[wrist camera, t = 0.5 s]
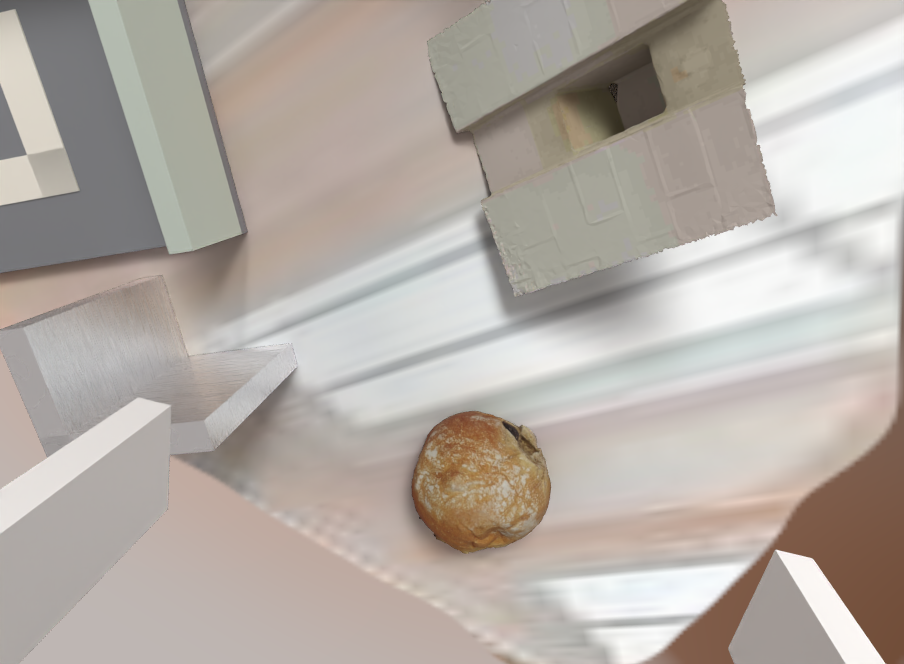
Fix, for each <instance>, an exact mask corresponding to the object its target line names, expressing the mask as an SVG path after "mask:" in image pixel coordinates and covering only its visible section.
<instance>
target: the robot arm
mask: <svg viewBox="0 0 904 664" xmlns="http://www.w3.org/2000/svg"><path fill="white" fill-rule="evenodd" d="M170 434H171V405H168V404H164V403H159V402H155V401H151V400H147V399H143V398H136V399H135V400H133V401H132V402H130V403H129V404H127V405H126V406H124V407H123V408H121V409H120V410H118V411H117V412H115V413H114V414H112V415H111V416H109V417H108V418H106V419H105V420H103V421H102V422H100V423H99V424H97V425H96V426H94V427H93V428H91V429H90V430H88V431H87V432H85V433H84V434H82V435H81V436H79V437H78V438H76V439H75V440H73V441H72V442H70V443H69V444H67V445H66V446H64V447H63V448H61V449H60V450H58V451H57V452H55V453H54V454H52V455H51V456H49V457H48V458H46V459H45V460H43V461H42V462H41V463H39V464H37V465H36V466H34V467H33V468H31V469H30V470H28V471H27V472H25V473H24V474H22V475H21V476H19V477H18V478H16V479H15V480H13V481H12V482H11V483H9V484H7V485H6V486H4V487H3V488H1V489H0V664H19V663H20V662H21V661H22V660H23V659H24V658H25V657H26V656H27V655H28V653H29V652H31V651H32V650H33V649H34V647H35V646H36V645H37V644H38V643H39V642H40V641H41V640H42V639H43V638H44V637H45V636H46V635H47V634H48V633H49V632H50V631H51V630H52V629H53V628H54V627H55V626H56V625H57V624H58V622H60V621H61V619H62V618H63V617H64V616H65V615H66V614H67V613H68V612H69V611H70V610H71V609H72V608H73V607H74V606H75V605H76V604H77V603H78V602H79V601H80V600H81V599H82V598H83V597H84V596H85V594H87V593H88V591H89V590H90V589H91V588H92V587H93V586H94V585H95V584H96V583H97V582H98V581H99V580H100V579H101V578H102V577H103V576H104V575H105V574H106V573H107V572H108V571H109V570H110V569H111V568H112V567H113V566H114V564H116V563H117V562H118V560H119V559H120V558H121V557H122V556H123V555H124V554H125V553H126V552H127V551H128V550H129V549H130V548H131V547H132V546H133V545H134V544H135V543H136V542H137V541H138V540H139V539H140V538H141V537H142V536H143V535H144V533H146V531H147V530H148V529H149V528H150V527H151V526H152V525H153V524H154V523H155V522H156V521H157V520H158V519H159V518H160V517H161V516H162V515H163V514H164V513H165V512H166V511H167V510H168V494H169V462H170ZM728 649H729V652H730V654H731V657H732V658H733V661H734V664H885V663H884V661H883V660H882V659H881V657H880V655H879V654H878V652H877V651H876V649H875V648H874V647H873V645H872V644H871V642H870V641H869V639H868V638H867V636H866V635H865V634H864V632H863V631H862V629H861V628H860V627H859V625H858V624H857V622H856V621H855V619H854V618H853V616H852V615H851V613H850V612H849V610H848V609H847V608H846V606H845V605H844V604H843V602H842V600H841V599H840V597H839V596H838V595H837V593H836V592H835V590H834V589H833V587H832V586H831V584H830V583H829V582H828V580H827V579H826V577H825V576H824V574H823V573H822V572H821V570H820V569H819V567H818V566H817V565H816V563H815V561H814V560H813V559H812V558H808V557H804V556H800V555H795V554H791V553H787V552H783V551H778V550H775V552H774V554H773V556H772V558H771V560H770V562H769V564H768V566H767V568H766V571H765V573H764V575H763V577H762V579H761V581H760V583H759V585H758V587H757V589H756V591H755V593H754V595H753V597H752V600H751V602H750V604H749V606H748V608H747V611H746V612H745V614H744V617H743V618H742V620H741V623H740V625H739V627H738V629H737V631H736V633H735V635H734V637H733V639H732V641H731V643H730V645H729V648H728Z"/></svg>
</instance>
